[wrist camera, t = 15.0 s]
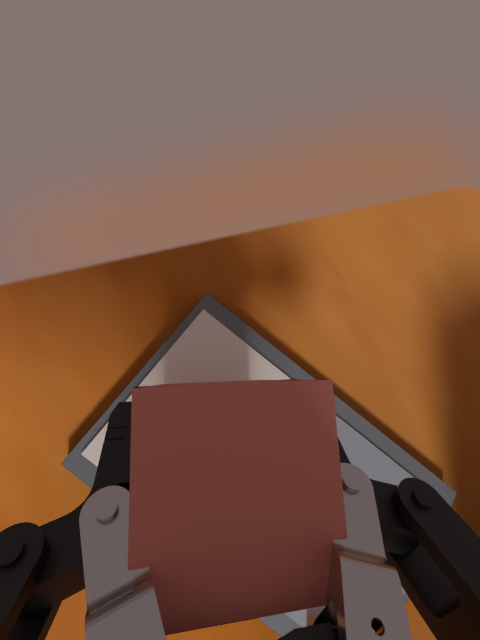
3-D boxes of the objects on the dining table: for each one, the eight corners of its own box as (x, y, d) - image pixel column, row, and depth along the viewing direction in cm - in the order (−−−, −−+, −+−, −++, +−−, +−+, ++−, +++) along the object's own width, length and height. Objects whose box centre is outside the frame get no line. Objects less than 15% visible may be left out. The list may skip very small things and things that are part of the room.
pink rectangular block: (160, 488, 15) (125, 642, 6) (161, 384, 16) (131, 388, 7) (260, 478, 16) (353, 600, 7) (255, 379, 17) (332, 379, 8)
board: (67, 459, 17) (58, 465, 15) (206, 296, 20) (207, 291, 19) (351, 680, 17) (363, 702, 16) (444, 487, 20) (460, 494, 19)
